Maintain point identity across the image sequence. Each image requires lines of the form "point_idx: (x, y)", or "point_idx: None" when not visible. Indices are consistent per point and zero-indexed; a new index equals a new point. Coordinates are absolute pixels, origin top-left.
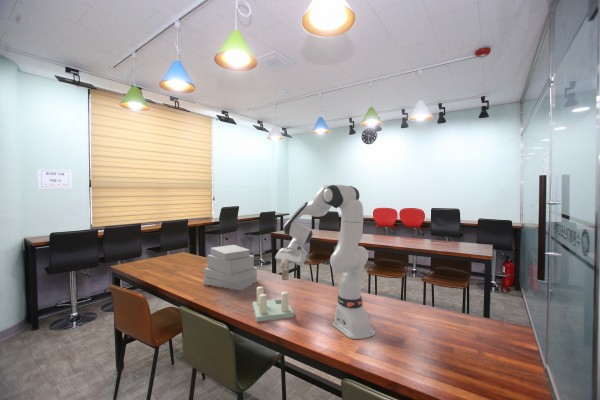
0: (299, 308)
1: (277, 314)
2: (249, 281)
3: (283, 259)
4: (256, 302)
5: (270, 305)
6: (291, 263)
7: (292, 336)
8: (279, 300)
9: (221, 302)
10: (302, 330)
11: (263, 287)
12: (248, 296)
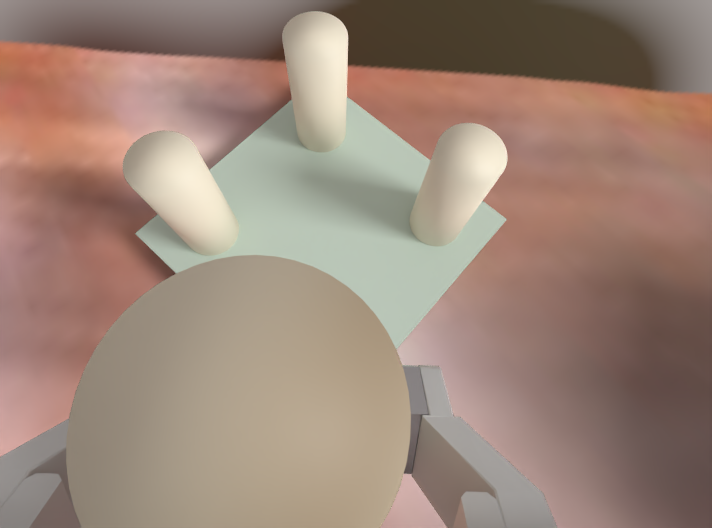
0: None
1: (224, 157)
2: None
3: (308, 343)
4: (476, 226)
5: (352, 239)
6: (18, 475)
7: (63, 75)
8: None
9: (704, 170)
10: (33, 142)
11: (448, 172)
12: (665, 349)
